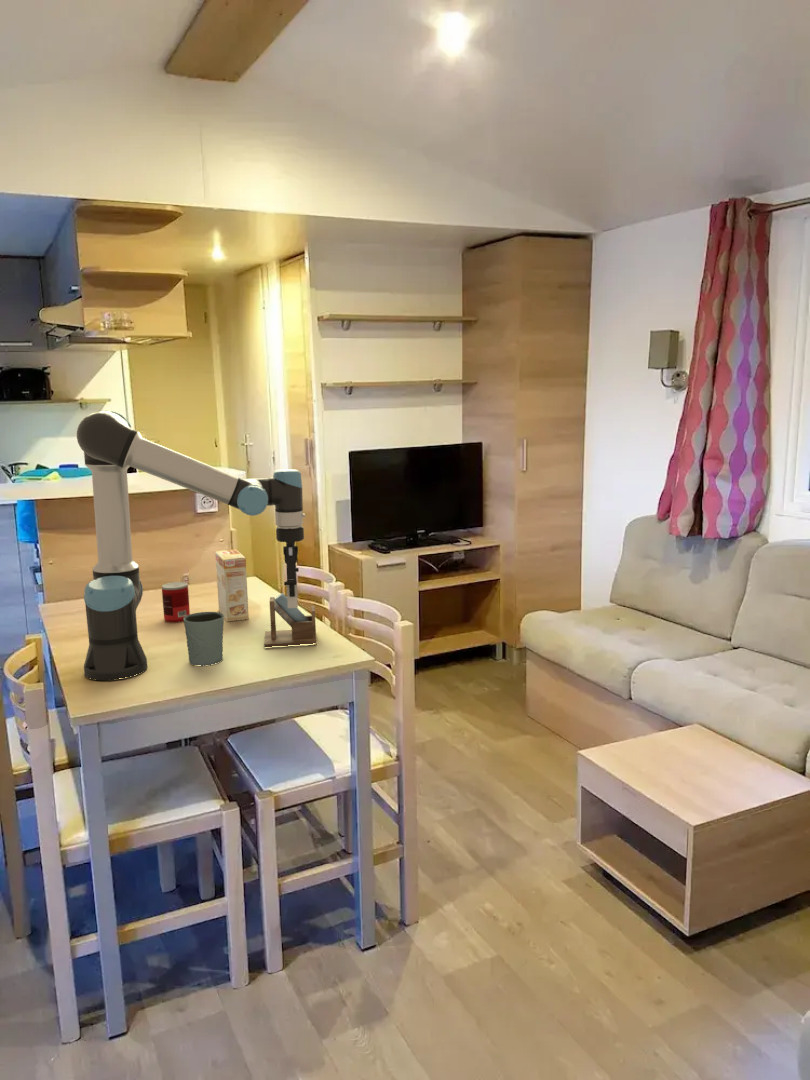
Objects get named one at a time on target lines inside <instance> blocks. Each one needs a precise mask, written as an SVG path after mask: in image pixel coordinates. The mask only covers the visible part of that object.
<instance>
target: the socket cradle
mask: <svg viewBox="0 0 810 1080" xmlns="http://www.w3.org/2000/svg"><path fill="white" fill-rule="evenodd" d="M275 599H276V597H275V596H270V597H269V618H270V630H266V631H265V634H264V640H263V641H264V642H263V648H264V647H272V646H288V645H300V644H313V643H316V644H317V632H316V631H317V630H316V629H317V627H316V607H315V605H311V606H310V609H311V615H304V616H305V617H306V618H307V619H308V620H309V621H302V622H295V621H294V620H293V619H292V618H291V617H290V616H289V615H288V614H287V613H286V612H285V611H284V610H283V609H282V608H281V607H280V606H279V605H278V604H277V603H276V602H275V601H274V600H275ZM276 613H277V614H278V615H279V617H280V618H282V619H283V620H284V622H286V623H287V624H288V626H289V627H291V629H287V630H286V629H285V630H282V629H281V630H277V628H276V627H277V623H276Z"/></svg>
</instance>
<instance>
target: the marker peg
mask: <svg viewBox="0 0 810 1080" xmlns="http://www.w3.org/2000/svg"><path fill="white" fill-rule="evenodd" d="M274 601H275V602H276V603H277V604H278V605H279V606H280V607H281V608H282V609H283V610H284V611H285V612H286V613H287V614H288V615H289V616H290V617H291V618H292V619H293V620H294V621H295V622H302V621H309V620H308V619H307V618H306V617H305V616H306V615H305V614H304V613H302V611H301V610H300V609H299V607H298V608H288V604H287V595H285V594H284V592H283V593H282V592H281V593H280V594H279V595H278V596H277V597H275V600H274Z"/></svg>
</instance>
